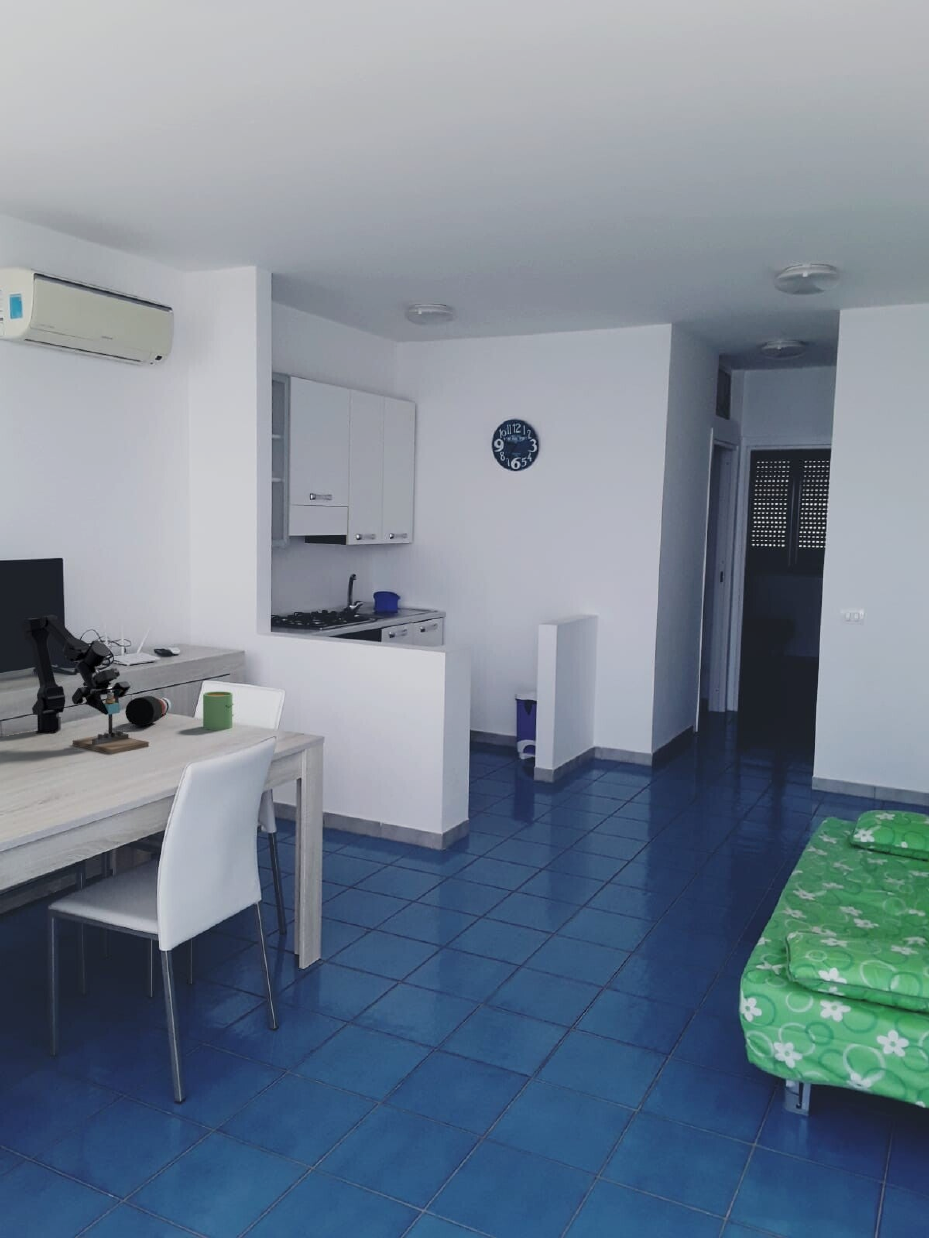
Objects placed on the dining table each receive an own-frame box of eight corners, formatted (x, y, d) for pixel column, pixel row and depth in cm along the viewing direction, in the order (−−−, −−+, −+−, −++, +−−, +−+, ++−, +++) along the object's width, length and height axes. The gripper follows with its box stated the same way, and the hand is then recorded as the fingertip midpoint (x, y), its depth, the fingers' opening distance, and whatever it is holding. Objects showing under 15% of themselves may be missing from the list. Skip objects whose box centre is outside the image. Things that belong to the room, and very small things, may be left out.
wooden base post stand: (72, 744, 321) (71, 692, 319) (109, 737, 332) (109, 686, 330) (111, 754, 309) (111, 699, 308) (148, 746, 321) (148, 693, 319)
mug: (229, 730, 348) (229, 696, 347) (199, 729, 348) (199, 695, 347) (238, 723, 361) (238, 690, 360) (209, 722, 361) (209, 689, 360)
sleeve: (101, 712, 319) (101, 703, 319) (111, 711, 322) (111, 702, 322) (108, 714, 317) (108, 705, 317) (119, 712, 320) (119, 703, 320)
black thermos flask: (172, 722, 381) (185, 699, 381) (145, 731, 348) (159, 706, 348) (149, 709, 381) (162, 686, 381) (120, 717, 348) (133, 692, 348)
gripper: (76, 662, 313) (98, 701, 307) (126, 657, 328) (148, 694, 323) (61, 684, 318) (83, 723, 313) (111, 678, 333) (133, 714, 328)
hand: (113, 713), depth 319 cm, fingers closed on sleeve, 4 cm apart
